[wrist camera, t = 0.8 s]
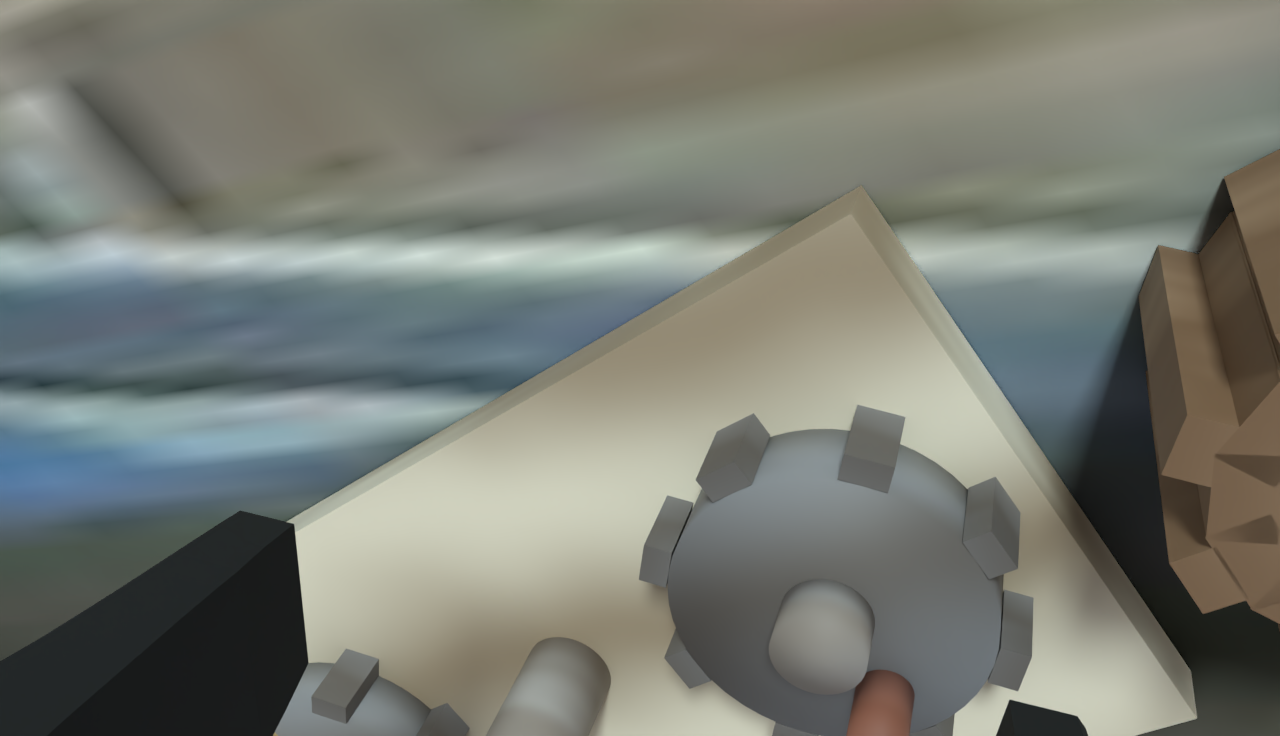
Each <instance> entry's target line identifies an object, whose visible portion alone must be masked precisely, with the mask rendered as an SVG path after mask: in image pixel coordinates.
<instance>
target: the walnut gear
mask: <svg viewBox="0 0 1280 736" xmlns="http://www.w3.org/2000/svg"><path fill="white" fill-rule="evenodd" d="M1224 179H1225V182H1226V185H1227V188H1228V191H1229V194H1230V197H1231V201H1232V204H1233V207H1234V210H1235V211H1233V212H1232V211H1231V212H1230V213H1229V215H1228V216H1227V218H1226V219H1225V220H1224V222H1223V223H1222V224H1221V225H1220V227H1219V228H1218V229H1217V231H1216V232H1215V233H1214V234H1213V236H1212V237H1211V238H1210V240H1209V241H1208V242H1207V244H1206V245H1205V246H1204V247H1203V249H1202V250H1201V251H1200V253H1199V254H1196V253H1191V252H1187V251H1182V250H1178V249H1173V248H1169V247H1164V246H1160V245H1158V247H1157V250H1156V252H1155V255H1154V258H1153V260H1152V263H1151V265H1150V268H1149V271H1148V273H1147V276H1146V278H1145V281H1144V284H1143V286H1142V289H1141V291H1140V294H1139V304H1140V312H1141V320H1142V328H1143V336H1144V344H1145V352H1146V359H1147V367H1148V371H1146V379H1147V387H1148V396H1149V404H1150V412H1151V420H1152V428H1153V436H1154V444H1155V452H1156V460H1157V469H1158V477H1159V485H1160V493H1161V501H1162V509H1163V517H1164V525H1165V533H1166V542H1167V550H1168V558H1169V564H1170V565H1171V567H1172V568H1173V570H1174V571H1175V573H1176V574H1177V576H1178V577H1179V579H1180V580H1181V582H1182V583H1183V585H1184V586H1185V588H1186V589H1187V591H1188V592H1189V594H1190V595H1191V597H1192V598H1193V600H1194V601H1195V603H1196V604H1197V606H1198V607H1199V609H1200V610H1201V612H1202V613H1203V614H1205V613H1208V612H1211V611H1214V610H1218V609H1221V608H1224V607H1227V606H1230V605H1233V604H1236V603H1240V602H1243V601H1247V603H1248V604H1249V606H1250V609H1251V610H1253V611H1255V612H1257V613H1259V614H1261V615H1263V616H1265V617H1267V618H1269V619H1271V620H1273V621H1275V622H1277V623H1278V627H1279V631H1280V149H1279V150H1277V151H1275V152H1273V153H1271V154H1269V155H1267V156H1265V157H1263V158H1261V159H1259V160H1257V161H1255V162H1253V163H1251V164H1249V165H1247V166H1245V167H1243V168H1241V169H1239V170H1237V171H1235V172H1233V173H1231V174H1229V175H1227V176H1225V177H1224Z"/></svg>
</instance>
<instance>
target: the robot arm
mask: <svg viewBox="0 0 1280 736" xmlns="http://www.w3.org/2000/svg"><path fill="white" fill-rule="evenodd" d="M308 663H309V662H308V652H307V643H306V633H305V623H304V614H303V604H302V594H301V585H300V575H299V565H298V556H297V546H296V536H295V527H294V524H293V523H288V522H284V521H280V520H276V519H272V518H268V517H264V516H260V515H256V514H252V513H248V512H244V511H239V512H237V513H236V514H234V515H233V516H231V517H229V518H228V519H226V520H225V521H223V522H221V523H220V524H218V525H217V526H215V527H214V528H212V529H210V530H209V531H207V532H206V533H204V534H203V535H201V536H200V537H198V538H196V539H195V540H193V541H192V542H190V543H189V544H187V545H186V546H184V547H183V548H181V549H179V550H178V551H176V552H175V553H173V554H172V555H170V556H169V557H167V558H166V559H164V560H163V561H161V562H160V563H158V564H156V565H155V566H153V567H152V568H150V569H149V570H147V571H146V572H144V573H143V574H141V575H140V576H138V577H136V578H135V579H133V580H132V581H130V582H129V583H127V584H126V585H124V586H123V587H121V588H119V589H118V590H116V591H115V592H113V593H112V594H110V595H109V596H107V597H105V598H104V599H102V600H101V601H99V602H97V603H96V604H94V605H93V606H91V607H89V608H88V609H86V610H85V611H83V612H81V613H80V614H78V615H77V616H75V617H74V618H72V619H70V620H69V621H67V622H66V623H64V624H62V625H61V626H59V627H58V628H56V629H54V630H53V631H51V632H50V633H48V634H46V635H45V636H43V637H41V638H40V639H38V640H37V641H35V642H33V643H31V644H30V645H28V646H26V647H24V648H23V649H21V650H19V651H17V652H16V653H14V654H12V655H11V656H9V657H7V658H5V659H4V660H2V661H0V736H273V734H274V732H275V730H276V728H277V727H278V725H279V723H280V721H281V719H282V717H283V715H284V713H285V711H286V709H287V707H288V705H289V703H290V701H291V699H292V697H293V694H294V692H295V690H296V688H297V686H298V684H299V682H300V680H301V678H302V676H303V674H304V672H305V670H306V667H307V665H308ZM996 736H1088V734H1087V731H1086V728H1085V726H1084V725H1083V723H1082V722H1081V721H1080V719H1079V718H1078V716H1075V715H1071V714H1067V713H1063V712H1059V711H1055V710H1051V709H1047V708H1043V707H1038V706H1034V705H1030V704H1026V703H1022V702H1018V701H1014V700H1010V699H1009V702H1008V705H1007V708H1006V710H1005V713H1004V716H1003V718H1002V721H1001V724H1000V726H999V729H998V732H997V734H996Z"/></svg>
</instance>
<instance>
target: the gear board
mask: <svg viewBox="0 0 1280 736" xmlns="http://www.w3.org/2000/svg"><path fill="white" fill-rule="evenodd" d="M287 522H288V523H293V524H294V527H295V536H296V546H297V556H298V565H299V575H300V585H301V594H302V604H303V614H304V623H305V633H306V643H307V652H308V662H309V663H308V665H307V667H306V670H305V672H304V674H303V676H302V678H301V680H300V682H299V684H298V686H297V688H296V690H295V692H294V694H293V697H292V699H291V701H290V703H289V705H288V707H287V709H286V711H285V713H284V715H283V717H282V719H281V721H280V723H279V725H278V727H277V728H276V730H275V732H274V734H273V736H996V734H997V732H998V729H999V726H1000V724H1001V721H1002V718H1003V716H1004V713H1005V710H1006V708H1007V705H1008V702H1009V699H1010V700H1014V701H1018V702H1022V703H1026V704H1030V705H1034V706H1038V707H1043V708H1047V709H1051V710H1055V711H1059V712H1063V713H1067V714H1071V715H1075V716H1078V718H1079V719H1080V721H1081V722H1082V723H1083V725H1084V726H1085V728H1086V731H1087V734H1088V736H1135V735H1139V734H1143V733H1146V732H1150V731H1154V730H1157V729H1161V728H1165V727H1168V726H1172V725H1176V724H1179V723H1183V722H1186V721H1190V720H1194V719H1197V713H1196V705H1195V698H1194V690H1193V683H1192V675H1191V670H1190V669H1189V667H1188V666H1187V664H1186V663H1185V661H1184V660H1183V658H1182V657H1181V655H1180V654H1179V653H1178V651H1177V650H1176V648H1175V647H1174V645H1173V644H1172V642H1171V641H1170V639H1169V638H1168V636H1167V635H1166V633H1165V632H1164V630H1163V629H1162V627H1161V626H1160V625H1159V623H1158V622H1157V620H1156V619H1155V617H1154V616H1153V614H1152V613H1151V611H1150V610H1149V608H1148V607H1147V605H1146V604H1145V602H1144V601H1143V599H1142V598H1141V596H1140V595H1139V594H1138V592H1137V591H1136V589H1135V588H1134V586H1133V585H1132V583H1131V582H1130V580H1129V579H1128V577H1127V576H1126V574H1125V573H1124V571H1123V570H1122V568H1121V567H1120V566H1119V564H1118V563H1117V561H1116V560H1115V558H1114V557H1113V555H1112V554H1111V552H1110V551H1109V549H1108V548H1107V546H1106V545H1105V543H1104V542H1103V540H1102V539H1101V538H1100V536H1099V535H1098V533H1097V532H1096V530H1095V529H1094V527H1093V526H1092V524H1091V523H1090V521H1089V520H1088V518H1087V517H1086V515H1085V514H1084V512H1083V511H1082V510H1081V508H1080V507H1079V505H1078V504H1077V502H1076V501H1075V499H1074V498H1073V496H1072V495H1071V493H1070V492H1069V490H1068V489H1067V487H1066V486H1065V484H1064V483H1063V482H1062V480H1061V479H1060V477H1059V476H1058V474H1057V473H1056V471H1055V470H1054V468H1053V467H1052V465H1051V464H1050V462H1049V461H1048V459H1047V458H1046V456H1045V455H1044V453H1043V452H1042V451H1041V449H1040V448H1039V446H1038V445H1037V443H1036V442H1035V440H1034V439H1033V437H1032V436H1031V434H1030V433H1029V431H1028V430H1027V428H1026V427H1025V425H1024V424H1023V423H1022V421H1021V420H1020V418H1019V417H1018V415H1017V414H1016V412H1015V411H1014V409H1013V408H1012V406H1011V405H1010V403H1009V402H1008V400H1007V399H1006V397H1005V396H1004V395H1003V393H1002V392H1001V390H1000V389H999V387H998V386H997V384H996V383H995V381H994V380H993V378H992V377H991V375H990V374H989V372H988V371H987V369H986V368H985V367H984V365H983V364H982V362H981V361H980V359H979V358H978V356H977V355H976V353H975V352H974V350H973V349H972V347H971V346H970V344H969V343H968V341H967V340H966V339H965V337H964V336H963V334H962V333H961V331H960V330H959V328H958V327H957V325H956V324H955V322H954V321H953V319H952V318H951V316H950V315H949V313H948V312H947V310H946V309H945V308H944V306H943V305H942V303H941V302H940V300H939V299H938V297H937V296H936V294H935V293H934V291H933V290H932V288H931V287H930V285H929V284H928V282H927V281H926V280H925V278H924V277H923V275H922V274H921V272H920V271H919V269H918V268H917V266H916V265H915V263H914V262H913V260H912V259H911V257H910V256H909V254H908V253H907V252H906V250H905V249H904V247H903V246H902V244H901V243H900V241H899V240H898V238H897V237H896V235H895V234H894V232H893V231H892V229H891V228H890V226H889V225H888V224H887V222H886V221H885V219H884V218H883V216H882V215H881V213H880V212H879V210H878V209H877V207H876V206H875V204H874V203H873V201H872V200H871V198H870V197H869V196H868V194H867V193H866V191H865V190H864V188H863V187H862V185H861V186H859V187H858V188H856V189H854V190H853V191H851V192H849V193H847V194H846V195H844V196H842V197H841V198H839V199H837V200H836V201H834V202H832V203H830V204H829V205H827V206H825V207H824V208H822V209H820V210H818V211H817V212H815V213H813V214H812V215H810V216H808V217H806V218H805V219H803V220H801V221H800V222H798V223H796V224H794V225H793V226H791V227H789V228H788V229H786V230H784V231H782V232H781V233H779V234H777V235H776V236H774V237H772V238H771V239H769V240H767V241H765V242H764V243H762V244H760V245H759V246H757V247H755V248H753V249H752V250H750V251H748V252H747V253H745V254H743V255H741V256H740V257H738V258H736V259H735V260H733V261H731V262H729V263H728V264H726V265H724V266H723V267H721V268H719V269H718V270H716V271H714V272H712V273H711V274H709V275H707V276H706V277H704V278H702V279H700V280H699V281H697V282H695V283H694V284H692V285H690V286H688V287H687V288H685V289H683V290H682V291H680V292H678V293H676V294H675V295H673V296H671V297H670V298H668V299H666V300H665V301H663V302H661V303H659V304H658V305H656V306H654V307H653V308H651V309H649V310H647V311H646V312H644V313H642V314H641V315H639V316H637V317H635V318H634V319H632V320H630V321H629V322H627V323H625V324H623V325H622V326H620V327H618V328H617V329H615V330H613V331H611V332H610V333H608V334H606V335H605V336H603V337H601V338H600V339H598V340H596V341H594V342H593V343H591V344H589V345H588V346H586V347H584V348H582V349H581V350H579V351H577V352H576V353H574V354H572V355H570V356H569V357H567V358H565V359H564V360H562V361H560V362H558V363H557V364H555V365H553V366H552V367H550V368H548V369H547V370H545V371H543V372H541V373H540V374H538V375H536V376H535V377H533V378H531V379H529V380H528V381H526V382H524V383H523V384H521V385H519V386H517V387H516V388H514V389H512V390H511V391H509V392H507V393H505V394H504V395H502V396H500V397H499V398H497V399H495V400H494V401H492V402H490V403H488V404H487V405H485V406H483V407H482V408H480V409H478V410H476V411H475V412H473V413H471V414H470V415H468V416H466V417H464V418H463V419H461V420H459V421H458V422H456V423H454V424H452V425H451V426H449V427H447V428H446V429H444V430H442V431H440V432H439V433H437V434H435V435H434V436H432V437H430V438H429V439H427V440H425V441H423V442H422V443H420V444H418V445H417V446H415V447H413V448H411V449H410V450H408V451H406V452H405V453H403V454H401V455H399V456H398V457H396V458H394V459H393V460H391V461H389V462H387V463H386V464H384V465H382V466H381V467H379V468H377V469H376V470H374V471H372V472H370V473H369V474H367V475H365V476H364V477H362V478H360V479H358V480H357V481H355V482H353V483H352V484H350V485H348V486H346V487H345V488H343V489H341V490H340V491H338V492H336V493H334V494H333V495H331V496H329V497H328V498H326V499H324V500H323V501H321V502H319V503H317V504H316V505H314V506H312V507H311V508H309V509H307V510H305V511H304V512H302V513H300V514H299V515H297V516H295V517H293V518H292V519H290V520H288V521H287Z"/></svg>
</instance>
